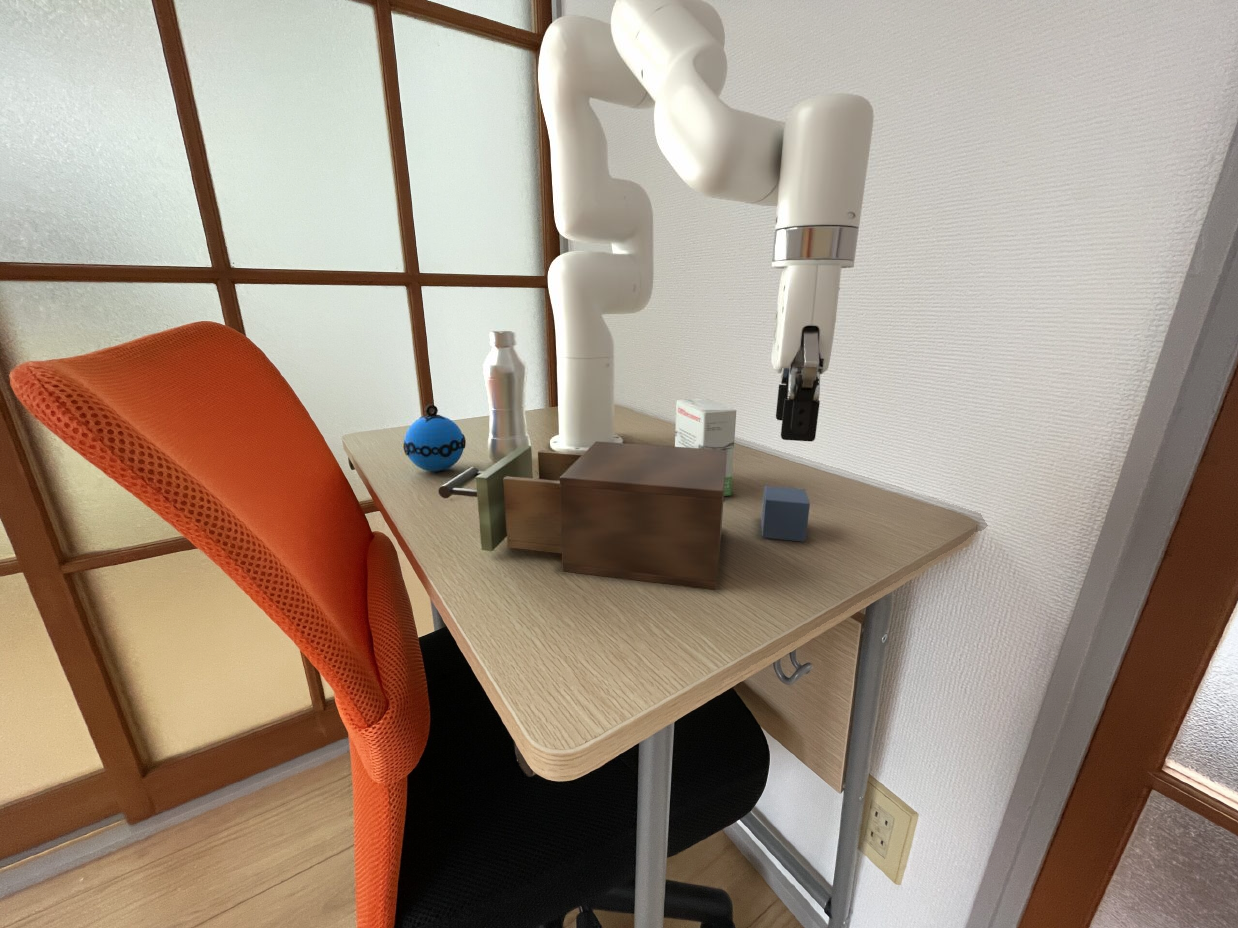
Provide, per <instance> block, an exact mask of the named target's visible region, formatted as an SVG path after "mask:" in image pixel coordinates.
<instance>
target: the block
mask: <svg viewBox="0 0 1238 928" xmlns="http://www.w3.org/2000/svg"><path fill="white" fill-rule="evenodd" d="M763 488H764V489H763V497H762V509H761V518H760V523H761V525H760V526H761V535H762V536H761V537H762V539H773V540H783V541H791V542H793V541H794V542H802V543H805V542H806V539H807V537H806V536H807V530H808V523H809V513H810V505H811V502H810V500H809V496H808V493H807V490H806V489H805V488H795V487H794V488H793V487H784V486H783V487H782V486H770V485H765V486H764V487H763Z"/></svg>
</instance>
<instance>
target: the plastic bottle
mask: <svg viewBox="0 0 1238 928" xmlns="http://www.w3.org/2000/svg"><path fill="white" fill-rule="evenodd" d="M489 339H490V341H489V345H490V346H492V347H491V351H490V352H489V353H488V355H487V356H486V359H485V361H484V363H483V367H482V374H483V376H484V377H483V379H484V384H485V388H486V393H487V402H488V405H489V406H488V411H489V422H488V423H489V425H488V426H489V427H488V429H489V430H488V438H487V453H488V456H489V459H490V460H491V461H492V463H494V464H496V463H497V462H499V461H500V460H502V459H503V458H504V457H506V456H507V455H509V454H510V453H512V452H513V451H515V450H516V449H518V448H519V447H520V446H522V445H523V446H531V447H532V445H531V444H532V443H531V438H530V434H529V432H528V431H529V430H528V423H527V415H526V391H527V390H526V388H527V380H528V366H527V363H526V361H525V359H524V358H523V356H522V354H520V352H519V351H518V350H517V348H516V345H518V341H517V333H516V331H511V330H510V331H509V330H497V331H495V330H494V331H490V332H489Z"/></svg>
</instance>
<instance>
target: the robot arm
mask: <svg viewBox="0 0 1238 928" xmlns="http://www.w3.org/2000/svg"><path fill="white" fill-rule="evenodd" d="M610 16H611V17H610V23H608V22H605V21H603V20H600V19H597V18H593V17H590V16H585V15H578V14H569V15H563V16H559V17H558V18H556V19H554V21H552V23H550V24H549V26H548V27H547V29H546V31H545V33H544V36H543V39H542V42H541V46H540V51H539V57H538V69H537V74H538V76H537V77H538V79H537V80H538V90H539V96H540V102H541V108H542V111H543V115H544V119H545V123H546V127H547V133H548V138H549V145H550V164H551V165H550V166H551V182H552V198H553V211H554V212H553V213H554V214H553V215H554V222H555V227H556V229H557V232H558V233H559V234H560V236H562V237H563V238H565V239H567V240H569V241H574V242H579V243H589V244H603V245H604V244H605V245H611V249H612V252H605V251H595V250H594V251H593V250H572V251H566V252H564V253H562V254H560V255H558V256H557V257H555V259H553V261H552V262H551V264H550V266H549V269H548V272H547V287H548V294H549V297H550V303H551V308H552V313H553V320H554V329H555V347H556V349H555V350H556V374H557V375H556V378H557V380H556V381H557V407H558V409H557V410H558V434H556V435H555V436H553V437H551V438H550V441H549V444H550V445H549V446H550V448H551V450H552V451H559V452H573V453H585V452H586V451H587V450H588V449H589V448H590V447H591V446H592V445H593V444H594V443H595V442H596V441H597V442H612V443H624V440H623V437H621V436H620V435H618V434H615V342H614V337H613V335H612V332H611V330H610V329H609V327H608V324H607V322H606V321H605V319H604V318H603V315H625V314H635V313H639V312H641V311H642V310H644V309H645V308H646V307H647V305H648V304H649V302H650V300H651V297H652V294H653V289H654V276H655V275H654V274H655V273H654V271H655V270H654V268H655V267H654V212H653V205H652V202H651V199H650V197H649V194H648V192H647V191H646V190H645V189H644V188H643V186H641V184H638V183H637V182H635V181H632V180H628V179H624V178H623V179H622V178H616V177H612V176H611V174H610V171H609V170H610V169H609V158H608V157H609V154H608V153H609V149H608V141H607V137H606V134H605V131H604V128H603V126H602V124H601V121H600V119H599V117H598V115H597V113H596V112H595V110H594V109H593V107H592V105H591V104H590V99H594V100H599V101H603V102H606V103H610V104H614V105H618V106H622V107H627V108H630V109H634V110H647V109H651V108H654V110H653V125H654V134H655V139H656V142H657V146H658V148H659V150H660V151H661V153H662V155H663V156H664V158H665V160H667V161H668V163H669V164H670V166H671V167H672V168H673V170H674V171H675V173H676V174H677V175H678V176H679V177H680V179H681V180H682V181H683V182H684V183H685V184H686V185H687V186H688V187H689V188H690V189H692V190H693V191H695V192H696V193H697V194H698V193H699V195H701V196H704V197H707V198H712V199H716V200H717V199H718V200H726V201H733V202H740V203H745V204H750V205H756V206H764V207H776V214H775V226H774V237H773V246H772V257H771V268H772V269H781V270H782V271H781V274H780V275H781V276H780V281H779V286H778V295H777V302H776V303H777V304H776V311H775V320H774V332H773V340H772V349H771V357H770V363H771V366H772V368H773V370H774V371H775V372H776V373H777V374H781V377H780V384H778V391H777V400H776V409H775V410H776V411H775V418H776V420H777V421H781V428H780V437H781V439H782V440H783V441H797V442H811V443H812V442H814V441H815V440H816V436H817V435H816V434H817V427H818V420H819V412H820V411H819V410H820V395H821V394H820V393H821V375H823V374H824V373H825V372H827V371H828V369H829V366H830V361H831V357H832V351H833V343H834V337H835V329H836V321H837V313H838V303H839V296H840V295H839V294H840V290H841V287H840V285H841V277H842V276H841V275H842V269H852V268H854V267H855V261H856V254H857V247H858V239H859V231H860V223H861V216H862V209H863V202H864V201H863V200H864V194H865V187H866V181H867V173H868V164H869V158H870V150H871V143H872V135H873V128H874V118H875V114H874V108H873V106H872V104H871V103H870V101H869V100H868V99H866V97H864V96H862V95H859V94H853V93H847V92H846V93H842V92H838V93H827V94H821V95H817V96H816V95H815V96H813V97H810V98H808V99H805V100H803V101H800V102H799V103H798V104H796V105H794V107H793V108H792V109H791V110H790V111H789V113H788V114H787V117H786V120H785V121H782V120H776V119H773V118H768V117H766V116H762V115H758V114H755V113H752V112H749V111H744V110H741V109H737V108H733V107H731V106H730V105H728V104H727V103H726V102H725V101H723V100H722V99H721V98H720V96H721V94H722V92H723V89H724V87H725V84H726V81H727V77H728V59H727V54H726V51H725V50H724V49H725V44H726V43H725V42H726V41H725V39H726V36H725V35H726V34H725V27H724V24H723V21H722V18H721V16H720V14H719V12H718V11H717V10H716V9H715V7H714V6H712V5H711V4H710V3H709V2H707V1H705V0H615V2H614V5H613V8H612V11H611V15H610Z"/></svg>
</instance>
